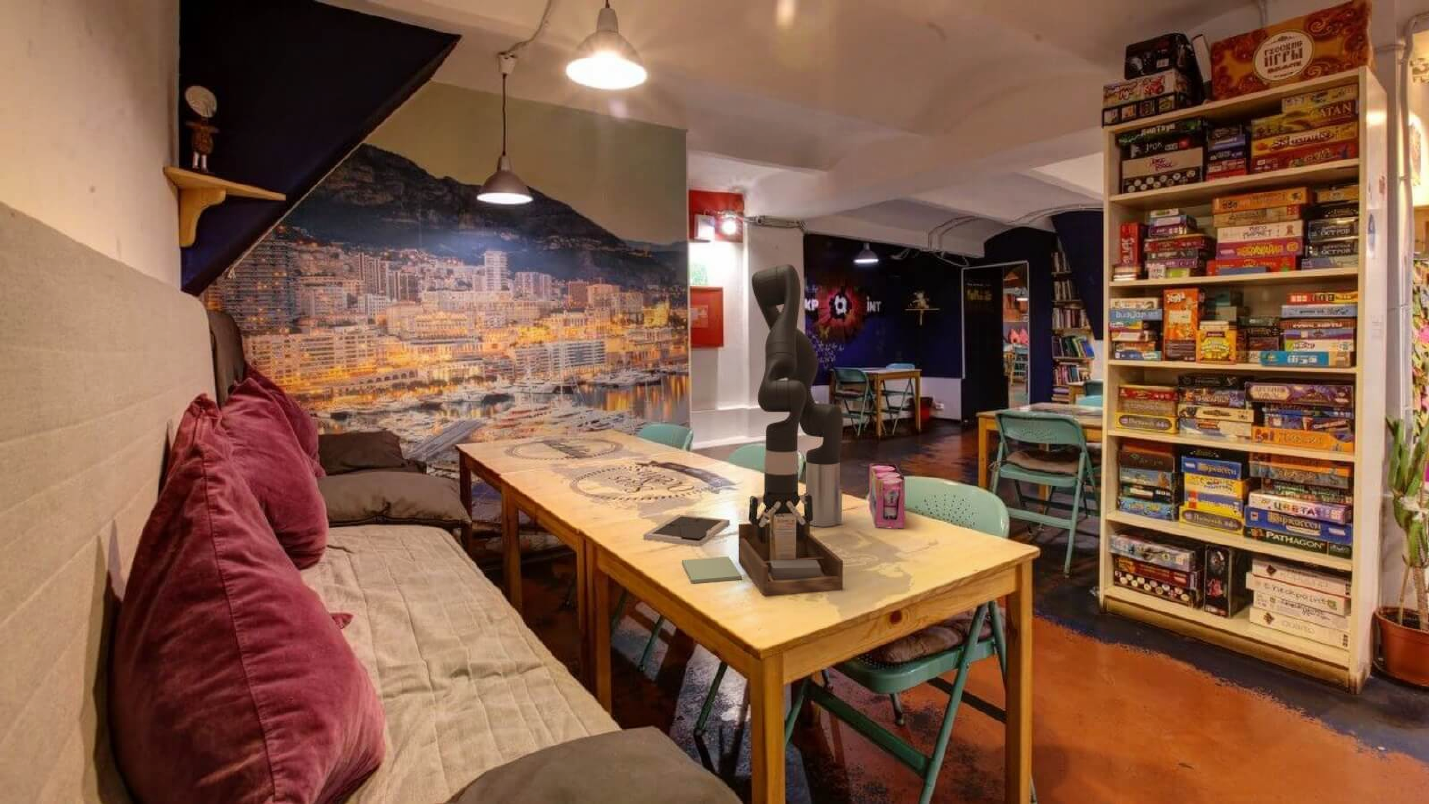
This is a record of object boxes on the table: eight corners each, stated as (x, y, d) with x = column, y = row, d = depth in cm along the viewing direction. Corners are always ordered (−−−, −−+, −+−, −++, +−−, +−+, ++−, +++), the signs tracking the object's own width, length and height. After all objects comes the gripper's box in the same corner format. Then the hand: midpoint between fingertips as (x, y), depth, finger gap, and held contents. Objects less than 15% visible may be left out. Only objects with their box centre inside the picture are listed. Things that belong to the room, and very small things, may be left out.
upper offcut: (816, 571, 148) (816, 559, 148) (820, 578, 143) (820, 567, 143) (769, 572, 147) (769, 560, 147) (772, 579, 143) (772, 568, 143)
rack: (808, 556, 163) (808, 519, 162) (842, 589, 143) (843, 546, 142) (738, 562, 160) (738, 524, 159) (763, 595, 139) (763, 552, 138)
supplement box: (768, 563, 159) (768, 507, 158) (789, 562, 159) (789, 506, 158) (774, 575, 151) (774, 517, 149) (796, 574, 151) (796, 516, 150)
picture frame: (699, 549, 171) (729, 527, 190) (699, 538, 171) (729, 517, 190) (643, 542, 177) (678, 521, 196) (643, 531, 177) (678, 511, 196)
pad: (728, 559, 161) (728, 556, 161) (741, 579, 149) (741, 575, 148) (681, 563, 159) (681, 560, 159) (691, 583, 146) (691, 579, 146)
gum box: (905, 530, 184) (907, 480, 182) (875, 529, 185) (876, 480, 183) (895, 508, 207) (896, 463, 206) (868, 507, 208) (869, 463, 207)
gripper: (806, 465, 158) (805, 534, 159) (746, 467, 155) (745, 538, 157) (817, 471, 151) (816, 544, 152) (754, 474, 148) (754, 548, 149)
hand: (780, 541), depth 154 cm, fingers open, 8 cm apart
